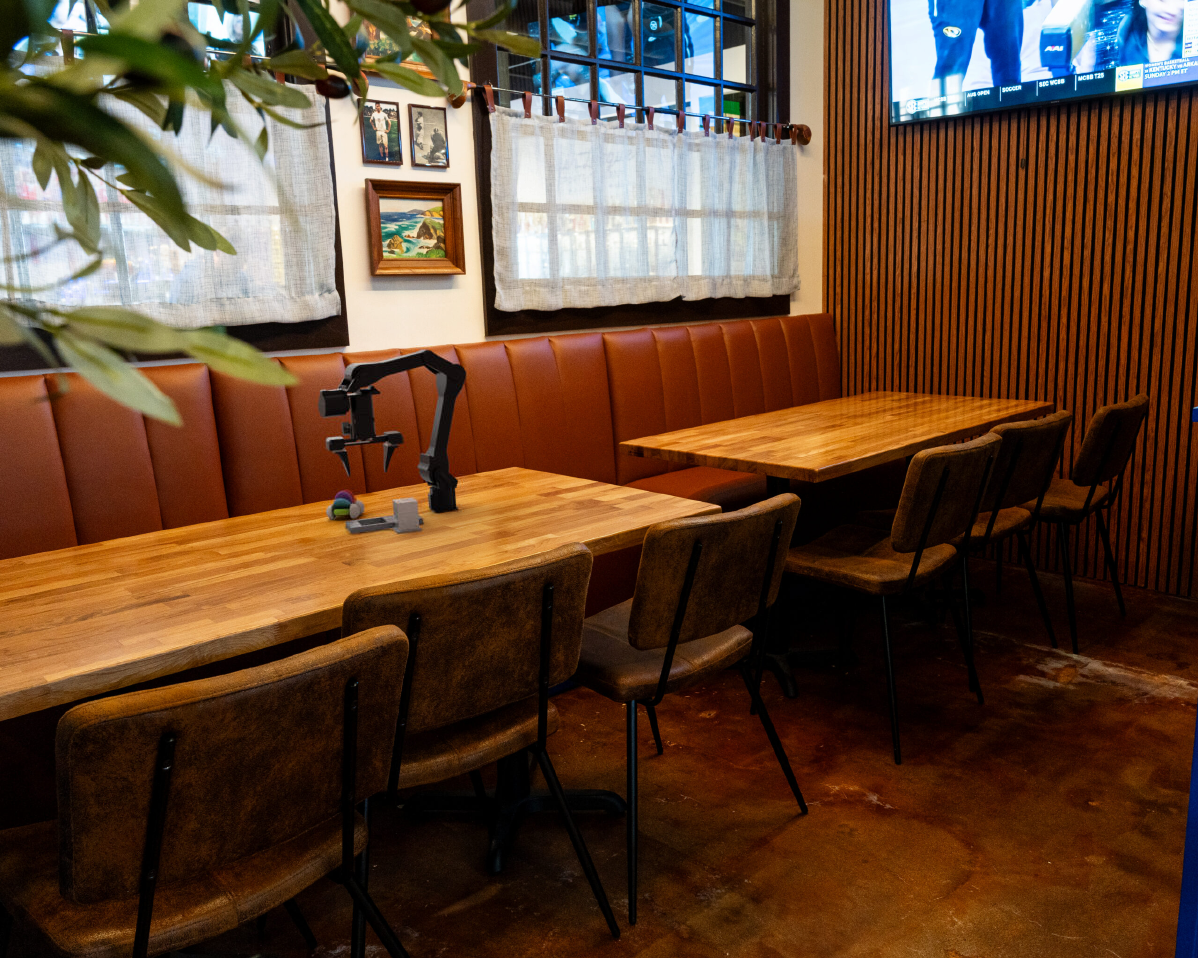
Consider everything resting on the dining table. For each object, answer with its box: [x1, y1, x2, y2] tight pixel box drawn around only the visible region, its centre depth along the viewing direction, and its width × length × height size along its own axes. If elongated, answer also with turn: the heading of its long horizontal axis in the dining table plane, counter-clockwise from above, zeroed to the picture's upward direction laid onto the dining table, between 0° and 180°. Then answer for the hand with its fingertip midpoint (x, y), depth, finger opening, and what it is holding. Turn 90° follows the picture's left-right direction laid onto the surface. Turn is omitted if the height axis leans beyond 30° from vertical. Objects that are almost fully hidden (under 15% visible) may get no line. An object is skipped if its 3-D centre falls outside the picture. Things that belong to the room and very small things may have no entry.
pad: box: [391, 526, 423, 534], centre depth 244 cm, size 6×6×1 cm
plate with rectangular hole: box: [344, 514, 424, 535], centre depth 249 cm, size 18×8×2 cm, turn 114°
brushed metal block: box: [392, 497, 420, 531], centre depth 243 cm, size 5×5×7 cm
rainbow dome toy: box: [326, 489, 365, 520], centre depth 260 cm, size 8×10×7 cm
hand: (367, 474), depth 252 cm, fingers open, 9 cm apart
